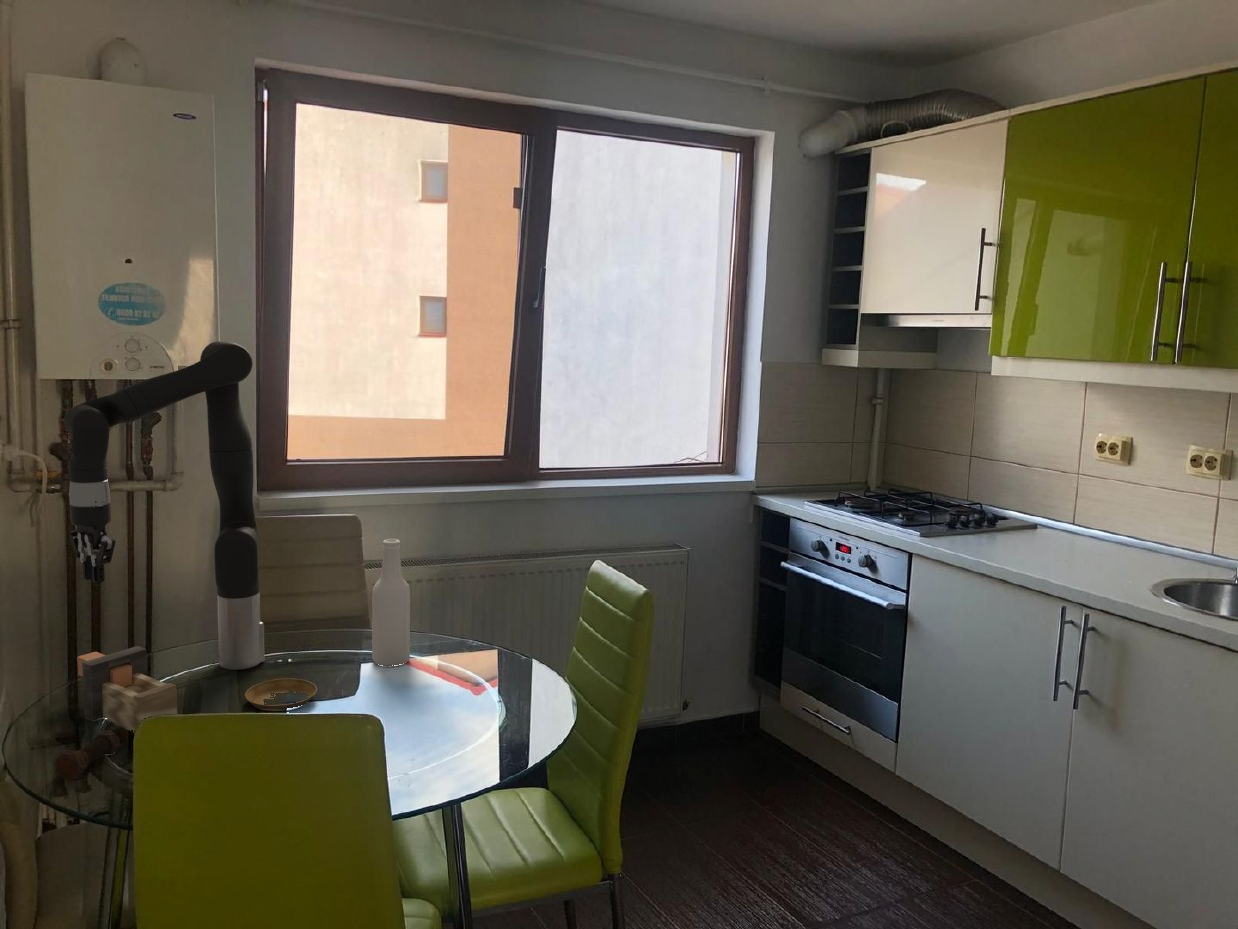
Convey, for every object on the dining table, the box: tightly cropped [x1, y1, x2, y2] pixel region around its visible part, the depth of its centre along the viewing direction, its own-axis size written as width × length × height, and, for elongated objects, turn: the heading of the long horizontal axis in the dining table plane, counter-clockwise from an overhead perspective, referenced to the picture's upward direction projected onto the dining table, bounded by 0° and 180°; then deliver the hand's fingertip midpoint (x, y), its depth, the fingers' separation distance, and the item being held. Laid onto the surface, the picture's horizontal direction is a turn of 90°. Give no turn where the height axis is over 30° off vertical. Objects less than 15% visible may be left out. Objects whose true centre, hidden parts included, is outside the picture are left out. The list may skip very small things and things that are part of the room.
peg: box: [76, 651, 133, 687], centre depth 209 cm, size 13×4×4 cm, turn 58°
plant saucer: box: [244, 677, 318, 713], centre depth 216 cm, size 15×15×3 cm
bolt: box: [54, 727, 129, 781], centre depth 187 cm, size 6×5×15 cm
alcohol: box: [371, 538, 411, 666], centre depth 239 cm, size 9×9×30 cm
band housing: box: [82, 645, 178, 734], centre depth 204 cm, size 16×12×12 cm
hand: (94, 580), depth 213 cm, fingers open, 3 cm apart
